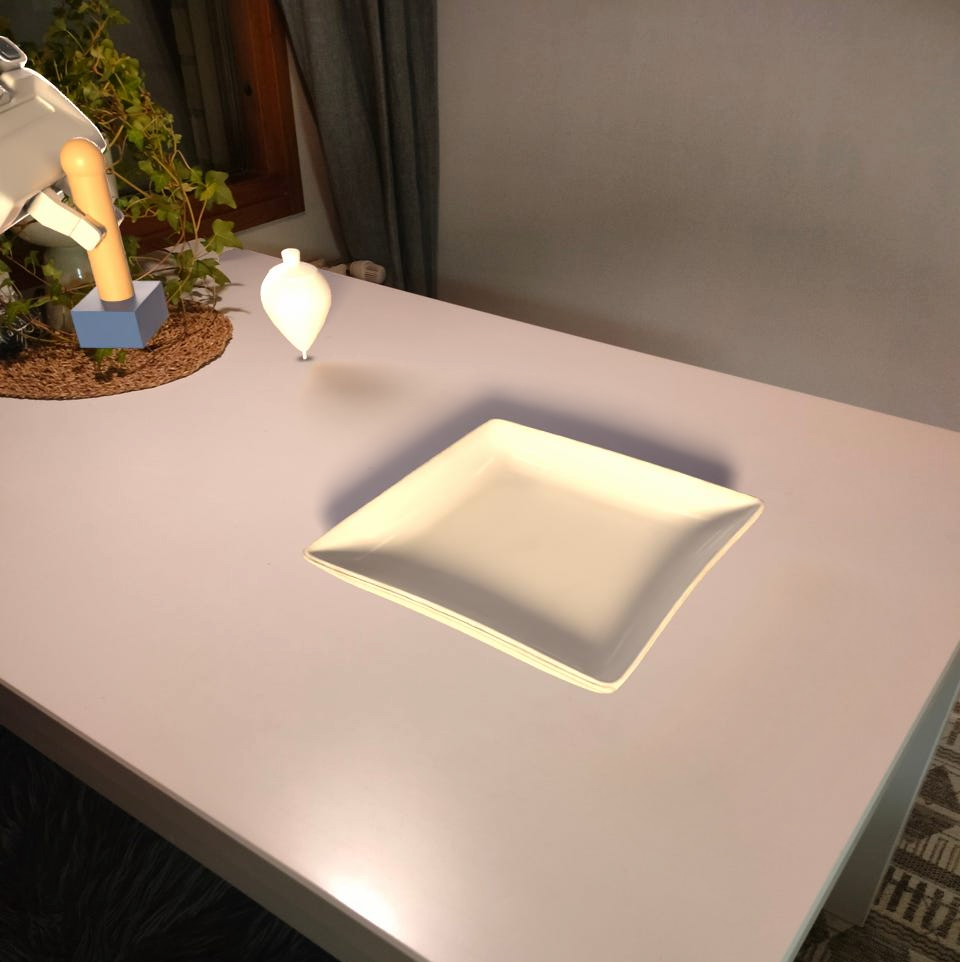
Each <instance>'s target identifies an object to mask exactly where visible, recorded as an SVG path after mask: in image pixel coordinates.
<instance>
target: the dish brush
mask: <svg viewBox="0 0 960 962" xmlns="http://www.w3.org/2000/svg"><path fill="white" fill-rule="evenodd" d="M60 163H61V166H62V169H63V171H64V172H65V174H66V175H67V179H68V182H69V186H70V190H71V193H72V197H73V200H72V201H73V205H74V208H75V210H76V211H77V212H79V213H80V214H82V215H84V216H85V215H87V214H89V215H90V216H92V217H93V218H94V219H95V220H96V221H97V222H98V223H99V224H101V225H102V226H103V227H104V228H105V230H106V235H105V236H104V238H103V239H102V240H101V242H100V243H99V244H98V245H97V246H96V247H95V248H94V249H93V250H90V251H89V250H86V253H87V257H88V260H89V264H90V268H91V271H92V276H93V279H94V283H95V287H94V288H93V289H92V290H90V291H89V292H88V293H87V294H86V295H85V296H84V297H83V298H82V299H81V300H80V301H79V302H78V303H77V304H76V305H75V306H74V307H73V308H72V309H71V310H70V312H69V313H70V316H71V319H72V323H73V327H74V330H75V333H76V337H77V341H78V344H79V347H80V348H81V349H83V348H85V349H90V348H91V349H93V348H94V349H144V348H145V347H146V346H147V344H148V343H149V342H150V341H151V339H152V338H153V337H154V336H155V335H156V333H158V331H159V329H160V328H161V327H162V326H163V324H165V322H166V321H167V319H168V318H169V317H170V312H169V308H168V304H167V303H168V302H167V299H166V295H165V291H164V286H163V281H162V280H133V279H132V276H131V270H130V267H129V263H128V259H127V255H126V251H125V247H124V243H123V242H124V241H123V237H122V234H121V230H120V225H119V226H118V222H117V217H116V213H115V209H114V205H115V204H114V202H113V198H112V194H111V189H110V185H109V182H108V181H109V180H108V177H107V172H106V171H107V170H106V169H107V162H106V157H105V155H104V152H103V153H102V151H101V150H100V148H99V147H98V146H97V145H96V144H95V143H94V142H92V141H90V140H88V139H86V138H81V137H76V138H72V139H69V140H68V141H66V142H65V143H64V145H63V146H62V148H61V151H60ZM113 204H114V205H113ZM84 216H83V217H84Z"/></svg>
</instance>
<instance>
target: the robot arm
mask: <svg viewBox="0 0 960 962" xmlns="http://www.w3.org/2000/svg"><path fill="white" fill-rule="evenodd" d="M27 61H28V57H27V55H26V54H25V53H24V51H23V50H22V49H20V48H19V46H17V45H16V44H15V43H14V42H12V41H11V40H10V39H9V38H8V37H5V36H1V35H0V235H1V234H3V233H5V231H7V230H9V229H10V228H11V227H13V226H14V225H16V224H18V222H20V221H21V220H23V219H24V218H26V217H27V216H29V215H30V217H32V218H34V219H35V220H36V221H37V222H38V223H39V224H40V225H42V226H44V227H47V228H49V229H51V230H54V231H56V232H58V233H60V234H62V235H65V236H67V237H70V238H71V239H73V240H74V241H75V242H76V243H77V244H78V245H80V246H81V247H82V248H83V249H85V250H86V251H87V250H89V251H90V250H93V249H94V248H95V247H96V246H97V245H98V244H99V243H100V242H101V240H102V239H103V238H104V236H105V235H106V230H105V228H104V227H103V226H102V225H101V224H99V223H98V222H97V221H96V220H95V219H94V218H93V217H92V216H90V215H89V214H87V215H85V216H84V215H82V214H80V213H79V212H77V211H76V209H74V208H72V207H70V206H69V205H67V204H66V203H64V202H63V201H62V199H63V198H62V196H61V195H60V194H61V193H62V192H63V193H64V194H65V195H66V196H67V197H69V198H70V199H71V200H72V201H73V197H72V193H71V190H70V186H69V182H68V179H67V175H66V174H65V172H64V171H63V169H62V166H61V163H60V151H61V148H62V146H63V145H64V143H65V142H66V141H68V140H69V139H72V138H76V137H81V138H86V139H88V140H90V141H92V142H94V143H95V144H96V145H97V146H98V147H99V148H100V150H101V151H102V153H103V154H104V151H105V149H106V147H107V143H106V141H105V139H104V137H103V135H102V133H101V132H100V130H99V129H98V127H97V126H96V125H95V124H94V123H93V122H92V121H91V119H89V118H88V117H87V116H86V115H85V114H84V113H83V112H82V111H81V110H80V109H79V108H78V107H77V106H76V105H75V103H73V102H72V101H71V100H70V99H69V98H67V96H65V94H63V93H62V92H61V91H60V90H59V89H58V88H57V87H56V86H55V85H54V84H52V83H51V82H50V81H49V80H48V79H47V78H45V77H44V76H42V75H41V74H40V73H38V72H37V71H35V70H34V69H31V68H28V67H25V64H26V63H27ZM113 205H114V209H115V213H116V217H117V222H118V226H119V227H120V225H121V223H122V222H123V221H124V220H125V214H124V212H123V211H122V210H121V209H120V208H119V207H117V206H116V204H114V203H113ZM83 216H84V217H83Z"/></svg>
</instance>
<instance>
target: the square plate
mask: <svg viewBox="0 0 960 962" xmlns="http://www.w3.org/2000/svg"><path fill="white" fill-rule="evenodd" d="M765 507H766V504H765V502H764V500H763V499H761V498H758V497H756V496H753V495H751V494H747V493H744V492H741V491H737V490H734V489H732V488H728V487H725V486H723V485H719V484H717V483H714V482H710V481H707V480H705V479H701V478H698V477H695V476H693V475H690V474H686V473H683V472H680V471H677V470H675V469H672V468H668V467H665V466H662V465H660V464H659V465H658V464H655V463H652V462H649V461H646V460H642V459H639V458H637V457H633V456H630V455H627V454H624V453H620V452H616V451H613V450H610V449H607V448H605V447H600V446H598V445H594V444H590V443H587V442H583V441H580V440H577V439H573V438H570V437H567V436H563V435H559V434H555V433H552V432H548V431H546V430H542V429H538V428H534V427H532V426H527V425H524V424H521V423H517V422H514V421H510V420H506V419H504V418H503V419H502V418H496V417H495V418H491V419H487V421H485V422H483V423H482V424H480V425H479V426H477V427H475V428H473V430H471V431H470V432H468V433H466V434H464V435H463V436H462V437H461V438H459V439H458V440H455V442H453V443H452V444H450V445H449V446H447V447H446V448H444V449H442V450H441V451H440V452H438V453H437V454H436V455H434V456H433V457H431V458H429V459H428V460H427V461H425V462H424V463H422V464H421V465H420V466H418V467H417V468H414V470H412V471H411V472H410V473H408V474H406V475H405V476H404V477H402V478H401V479H399V480H398V481H397V482H395V483H393V484H392V485H391V486H390V487H388V488H387V489H385V490H383V491H382V492H381V493H380V494H378V495H377V496H376V497H374V498H372V499H370V501H368V502H367V503H365V504H363V505H362V506H361V507H360V508H358V509H357V510H356V511H354V512H352V513H351V514H350V515H348V516H347V517H346V518H344V519H343V520H341V521H340V522H338V523H337V524H335V525H334V526H333V527H332V528H330V529H329V530H327V531H326V532H324V533H323V534H322V535H321V536H319V537H318V538H316V539H315V540H314V541H313V542H311V543H310V544H309V545H308V546H306V547H305V548H303V550H302V552H301V556H302V557H303V558H304V560H306V561H307V562H309V563H310V564H312V565H314V566H315V567H317V568H318V569H321V570H323V571H324V572H326V573H328V574H330V575H332V576H334V577H335V578H338V579H340V580H342V581H344V582H346V583H348V584H351V585H352V586H355V587H357V588H359V589H362V590H364V591H367V592H369V593H372V594H374V595H377V596H380V597H381V598H384V599H386V600H389V601H392V602H394V603H397V604H399V605H401V606H403V607H405V608H407V609H411V610H412V611H415V612H417V613H419V614H421V615H423V616H426V617H429V618H430V619H433V620H435V621H437V622H439V623H441V624H444V625H446V626H448V627H451V628H453V629H455V630H457V631H460V632H462V633H463V634H466V635H467V636H468V635H469V636H470V637H472V638H474V639H476V640H478V641H480V642H482V643H484V644H487V645H489V646H491V647H493V648H495V649H497V650H498V651H501V652H503V653H505V654H508V655H510V656H511V657H514V658H515V659H518V660H519V661H522V662H524V663H526V664H528V665H529V666H532V667H534V668H536V669H537V670H540V671H542V672H544V673H547V674H550V675H552V676H554V677H556V678H557V679H558V678H559V679H560V680H563V681H565V682H568V683H570V684H573V685H575V686H577V687H580V688H583V689H585V690H588V691H591V692H595V693H598V694H613V693H615V692H616V691H617V690H618V689H620V687H621V686H622V685H624V683H625V682H626V681H627V680H628V679H629V677H630V676H631V675H632V673H633V672H634V671H635V670H636V669H637V667H638V665H640V663H641V661H642V660H643V659H644V657H645V656H646V654H647V653H649V651H650V649H651V648H652V647H653V645H654V643H655V642H656V641H657V639H658V638H659V636H660V635H661V633H662V632H663V631H664V629H665V628H666V627H667V625H668V623H670V621H671V619H672V618H673V617H674V616H675V614H676V613H677V612H678V610H679V609H680V607H682V605H683V604H684V602H685V601H686V600H687V599H688V597H689V596H690V595H691V593H692V592H693V591H694V590H695V588H696V587H697V586H698V584H699V583H700V582H701V581H702V580H703V578H704V577H705V576H706V575H707V574H708V572H709V571H710V570H711V569H712V568H713V567H714V566H715V565H716V564H717V562H719V560H720V559H721V558H722V557H723V556H724V555H725V554H726V553H727V552H728V551H729V549H730V548H732V547H733V546H734V544H735V543H736V542H737V541H738V540H739V539H740V538H741V537H742V536H743V535H744V534H745V533H746V532H747V531H748V530H749V529H750V528H751V526H752V525H753V524H755V522H756V521H757V520H758V518H759V517H760V516H761V515H762V513H763V512H764V509H765Z"/></svg>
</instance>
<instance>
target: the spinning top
mask: <svg viewBox="0 0 960 962" xmlns="http://www.w3.org/2000/svg"><path fill="white" fill-rule="evenodd" d="M281 257H282V261H283V262H281V263H279V264H277V265H275V266H273V267H272V268H271V269H269V271H268V273H267V274H266V276H265V278H264V279H263V282H262V284H261V288H260V299H261V300H260V301H261V304H262V307H263V309H264V311H265V313H266V314H267V316H268V318H269V319H270V321H271V322H272V323H273V325H274V326H275V327H276V328H277V329H278V331H279V332H280V333H281V334H282V335H283V336H284V337H285V338H286V339H287V340H288V342H290V343H291V344H292V345H293V346H294V347H295V348H296V349H297V350H299V351H300V352H302V359H303V360H306V359H307V351H309V350H310V348H311V347H312V345H313V344H314V342H315V341H316V339H317V338H318V335H319V334H320V332H321V330H322V328H323V326H324V325H325V323H326V320H327V317H328V315H329V312H330V309H331V306H332V301H333V298H332V297H333V295H332V294H333V293H332V288H331V285H330V283H329V281H328V279H327V278H326V277H325V275H324V274H323V273H322V272H321V271H320V269H319V270H318V268H317V266H315V265H313V264H311V263H308V262H304V261H301V251H300V250H299V249H297V248H294V247H293V248H292V247H291V248H290V247H289V248H285V249H283V250H282V251H281Z"/></svg>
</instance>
